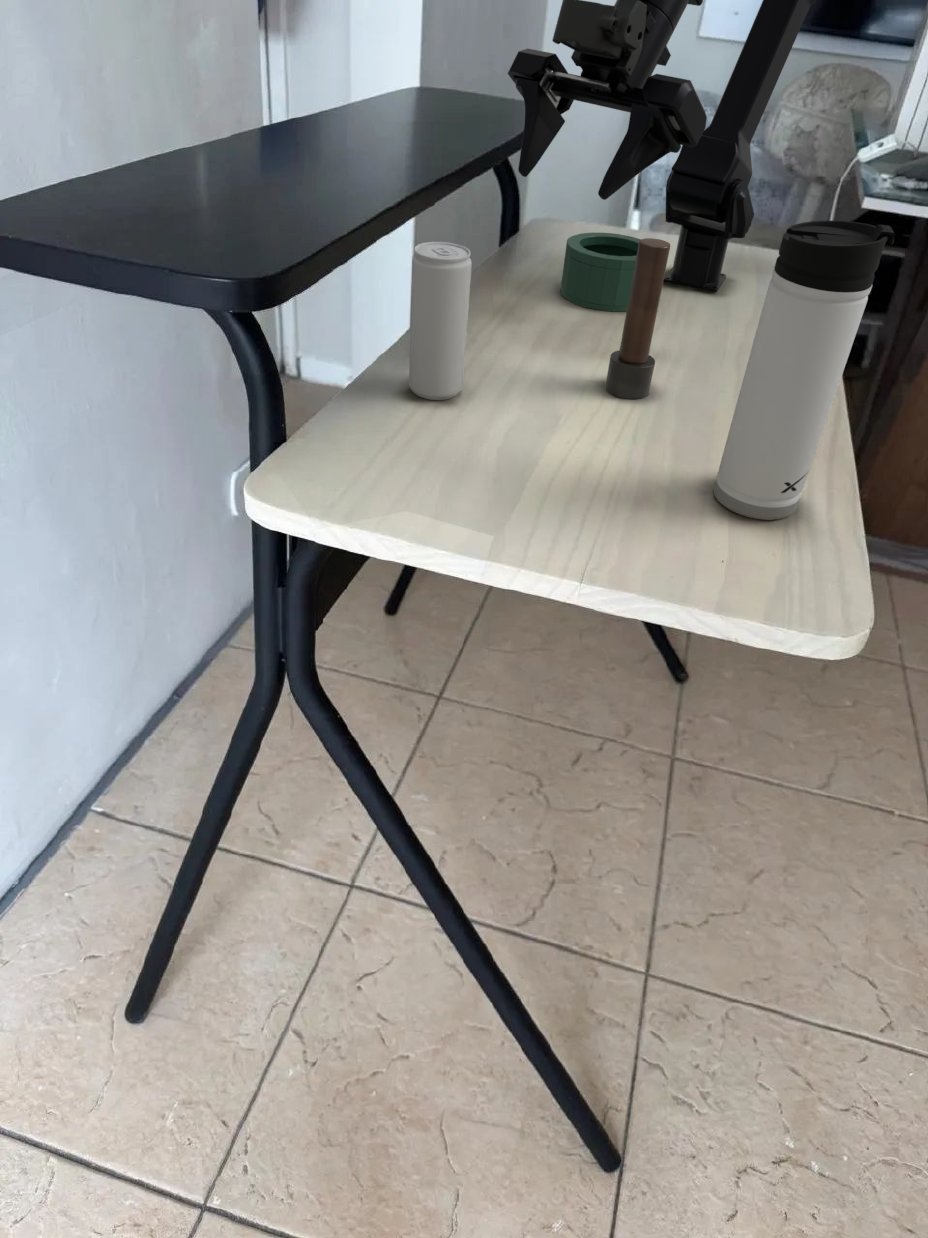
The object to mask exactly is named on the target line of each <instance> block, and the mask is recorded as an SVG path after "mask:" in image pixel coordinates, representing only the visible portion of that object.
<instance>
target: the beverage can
mask: <svg viewBox="0 0 928 1238" xmlns="http://www.w3.org/2000/svg"><path fill="white" fill-rule="evenodd" d="M413 250H414V254H413V255H412V258H411V281H410V283H411V284H410V311H409V314H410V318H409V371H408V372H409V373H408V386H409V388H410V390H411V391H412V393H413V394H414V395H416V396H417V397H420V398H421V399H426V400H431V401H446V400H450V399H452V398H455V397H456V396H457V395H459V394H460V393H461V391H462V390H463V388H464V387H463V386H464V378H465V377H464V374H465V363H466V362H465V361H466V348H467V333H468V320H469V308H470V295H471V294H470V292H471V279H472V265H473V264H472V263H473V262H472V259H471V258H470V257H471V254H472V252H471V250H470V249H469V248H468V247H466V246H464V245H461V244H457V243H453V242H446V241H428V242H422V243H419V244H417V245H415V247H414V249H413Z"/></svg>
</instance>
